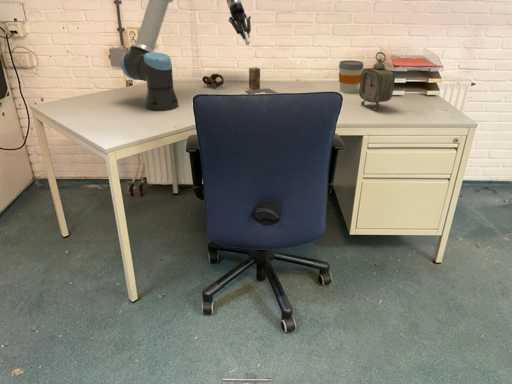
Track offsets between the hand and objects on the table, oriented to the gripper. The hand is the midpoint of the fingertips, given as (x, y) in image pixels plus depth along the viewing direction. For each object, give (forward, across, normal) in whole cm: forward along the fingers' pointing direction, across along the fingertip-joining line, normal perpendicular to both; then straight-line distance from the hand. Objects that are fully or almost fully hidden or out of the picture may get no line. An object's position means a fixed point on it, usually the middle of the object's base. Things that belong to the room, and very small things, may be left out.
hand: (248, 43), depth 218 cm
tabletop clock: (+62, -36, +30) cm, 77 cm away
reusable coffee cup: (+40, -44, +7) cm, 60 cm away
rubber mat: (+29, 0, -3) cm, 29 cm away
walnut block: (+22, 0, -9) cm, 24 cm away
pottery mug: (+14, +20, -18) cm, 30 cm away
